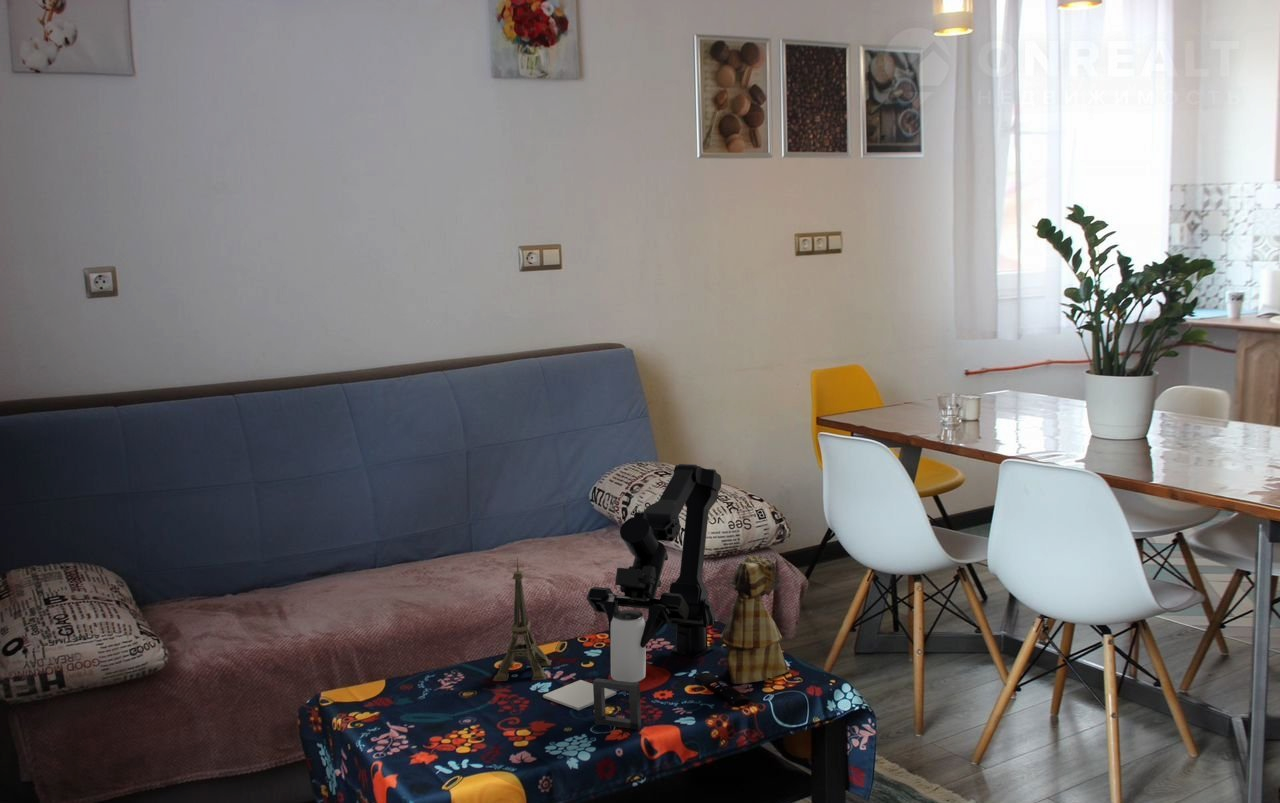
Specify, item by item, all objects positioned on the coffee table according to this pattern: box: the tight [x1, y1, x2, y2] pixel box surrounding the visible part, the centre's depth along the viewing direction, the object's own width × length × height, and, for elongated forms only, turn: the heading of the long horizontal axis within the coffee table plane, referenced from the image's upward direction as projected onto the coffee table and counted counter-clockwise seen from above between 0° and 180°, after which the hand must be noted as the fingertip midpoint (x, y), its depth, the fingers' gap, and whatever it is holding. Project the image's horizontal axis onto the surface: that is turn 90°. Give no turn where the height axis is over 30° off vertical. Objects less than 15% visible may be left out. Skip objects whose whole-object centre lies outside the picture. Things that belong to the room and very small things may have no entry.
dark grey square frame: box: [592, 677, 642, 730], centre depth 206 cm, size 2×8×8 cm, turn 68°
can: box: [610, 609, 647, 683], centre depth 211 cm, size 6×6×12 cm
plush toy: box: [719, 555, 790, 685], centre depth 227 cm, size 14×14×25 cm
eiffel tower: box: [492, 558, 553, 682], centre depth 233 cm, size 11×11×25 cm
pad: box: [542, 679, 617, 711], centre depth 220 cm, size 10×10×1 cm
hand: (626, 645), depth 209 cm, fingers closed on can, 6 cm apart
